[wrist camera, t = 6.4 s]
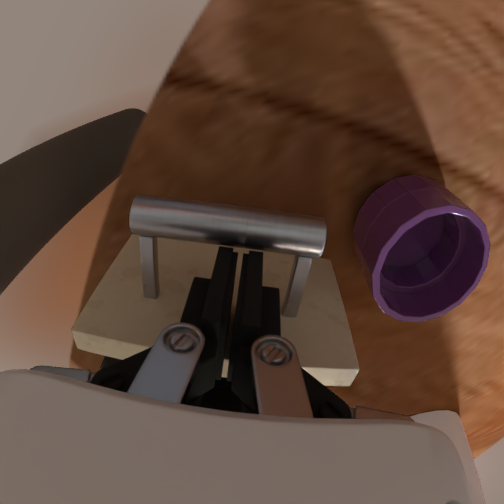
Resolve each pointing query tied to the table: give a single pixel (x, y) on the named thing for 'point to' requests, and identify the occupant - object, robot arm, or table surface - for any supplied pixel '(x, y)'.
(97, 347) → the drawer
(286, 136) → the table surface
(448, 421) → the cylinder
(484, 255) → the bowl
